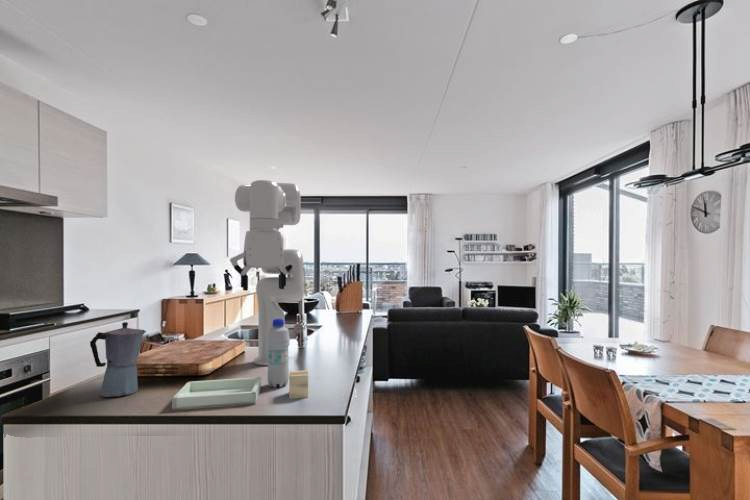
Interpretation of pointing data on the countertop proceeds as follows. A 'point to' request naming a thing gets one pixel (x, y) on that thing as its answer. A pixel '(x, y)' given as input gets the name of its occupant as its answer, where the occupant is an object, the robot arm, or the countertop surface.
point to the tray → (217, 393)
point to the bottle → (278, 354)
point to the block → (298, 384)
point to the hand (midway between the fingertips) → (263, 289)
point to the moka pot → (119, 360)
